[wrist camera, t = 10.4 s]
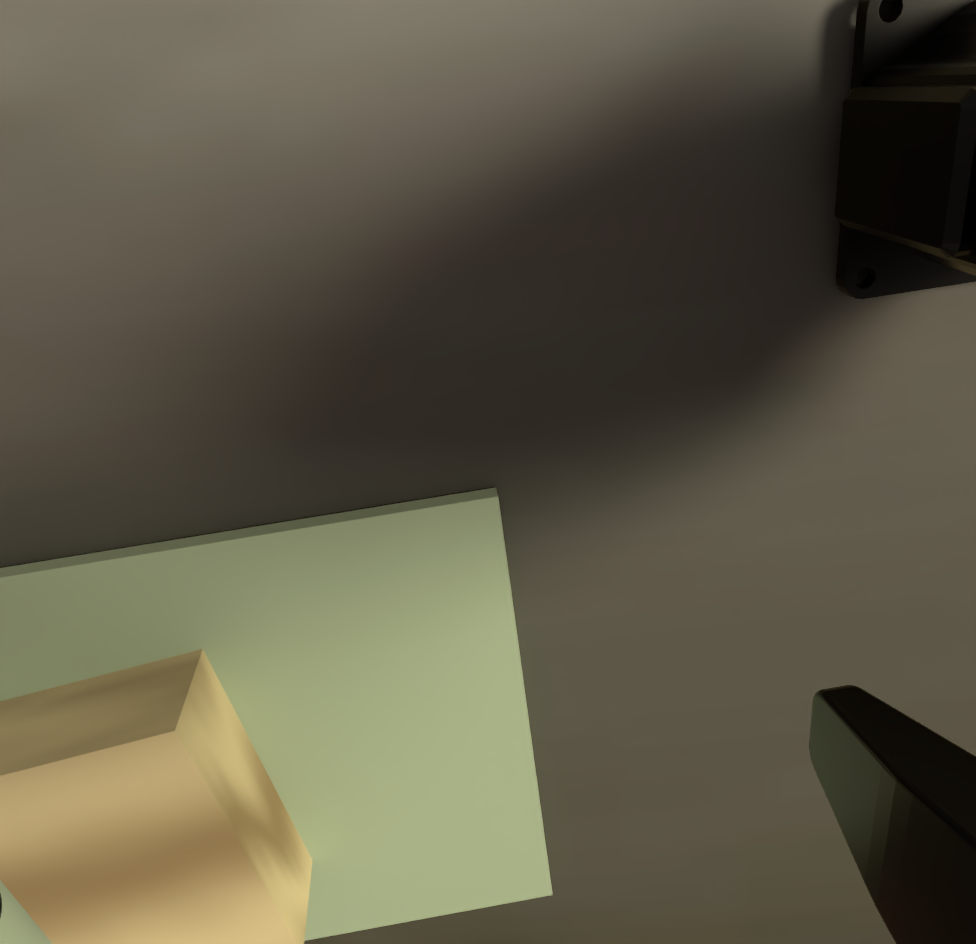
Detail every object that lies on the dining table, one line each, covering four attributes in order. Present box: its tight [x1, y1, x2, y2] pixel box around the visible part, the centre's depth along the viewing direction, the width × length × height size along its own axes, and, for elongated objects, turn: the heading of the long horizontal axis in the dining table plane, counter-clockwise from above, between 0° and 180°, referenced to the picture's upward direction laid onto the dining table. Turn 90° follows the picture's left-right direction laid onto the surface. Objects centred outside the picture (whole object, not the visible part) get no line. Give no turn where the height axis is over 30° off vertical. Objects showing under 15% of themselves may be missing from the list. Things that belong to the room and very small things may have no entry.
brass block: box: [0, 649, 313, 944], centre depth 22 cm, size 9×6×3 cm, turn 13°
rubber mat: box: [0, 487, 552, 944], centre depth 23 cm, size 22×16×1 cm
